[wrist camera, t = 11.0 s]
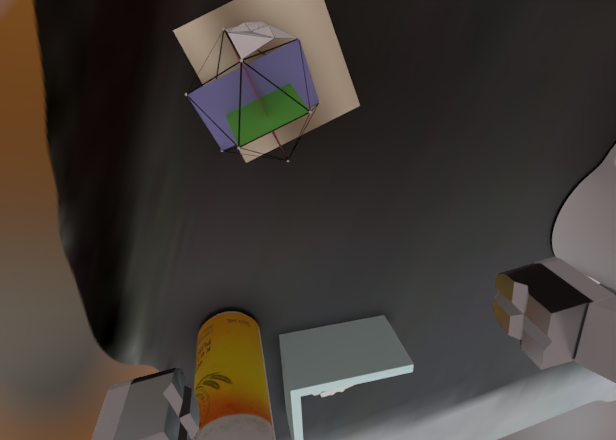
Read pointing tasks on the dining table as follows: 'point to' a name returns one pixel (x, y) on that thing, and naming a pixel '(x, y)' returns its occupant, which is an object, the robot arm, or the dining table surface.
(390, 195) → the dining table surface
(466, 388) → the dining table surface
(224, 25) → the oak base block
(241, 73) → the geometric puzzle
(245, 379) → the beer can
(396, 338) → the right angle wall
